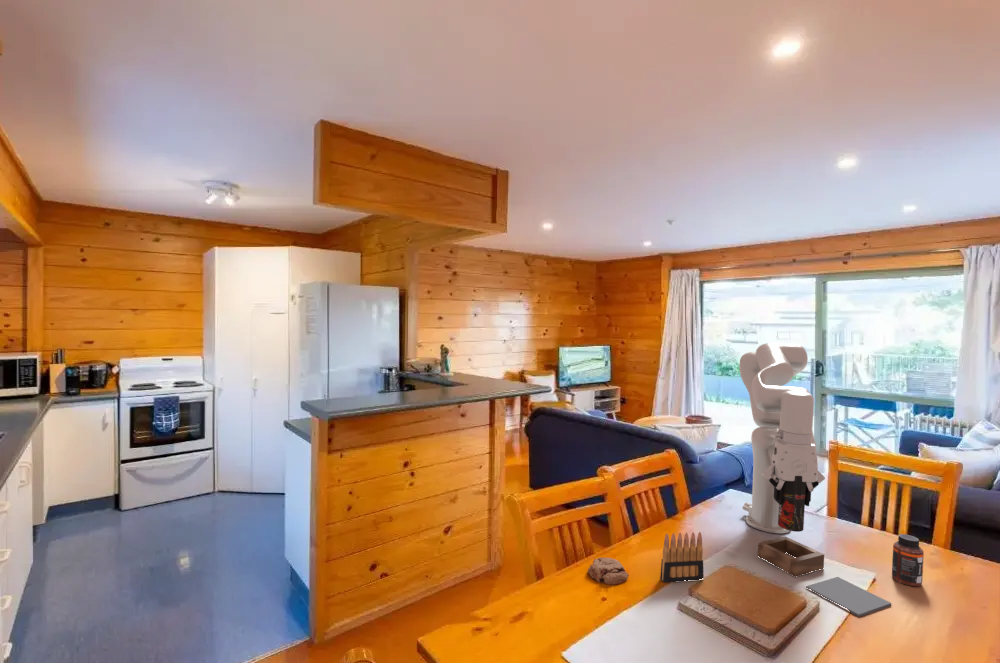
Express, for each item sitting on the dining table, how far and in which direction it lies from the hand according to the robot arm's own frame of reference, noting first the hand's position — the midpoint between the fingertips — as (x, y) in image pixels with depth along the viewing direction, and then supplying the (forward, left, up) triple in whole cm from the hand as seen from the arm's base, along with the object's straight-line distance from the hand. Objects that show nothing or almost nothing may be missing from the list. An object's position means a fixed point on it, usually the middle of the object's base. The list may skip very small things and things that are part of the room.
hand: (791, 502), depth 130 cm
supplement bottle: (+17, +20, -17) cm, 31 cm away
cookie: (-13, -50, -17) cm, 55 cm away
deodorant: (0, 0, -7) cm, 7 cm away
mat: (+16, -2, -16) cm, 23 cm away
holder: (0, 0, -16) cm, 16 cm away
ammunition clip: (-4, -34, -17) cm, 38 cm away
